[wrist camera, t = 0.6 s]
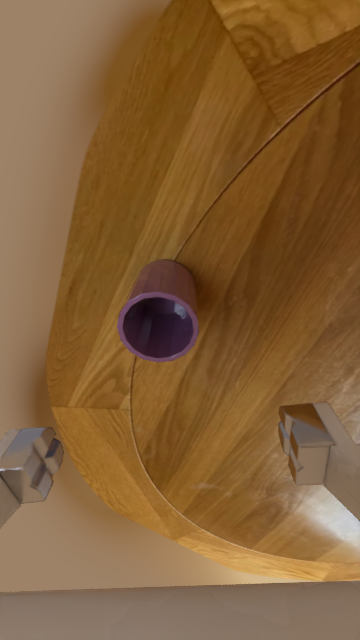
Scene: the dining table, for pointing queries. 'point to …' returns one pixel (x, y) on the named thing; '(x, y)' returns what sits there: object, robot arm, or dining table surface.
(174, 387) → the dining table surface
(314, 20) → the dining table surface
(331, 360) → the dining table surface
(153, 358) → the cup
